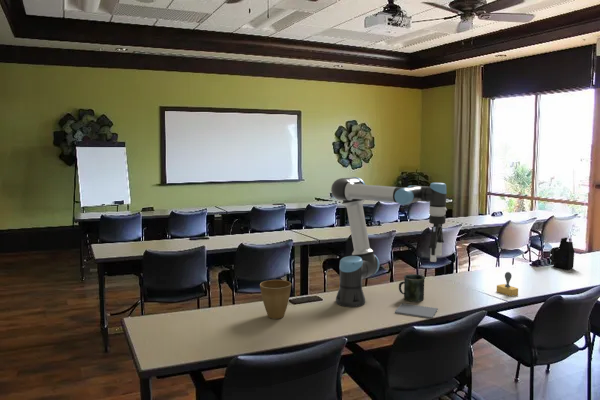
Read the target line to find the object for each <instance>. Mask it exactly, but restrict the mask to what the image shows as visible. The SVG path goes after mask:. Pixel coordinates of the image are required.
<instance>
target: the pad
mask: <svg viewBox="0 0 600 400" xmlns="http://www.w3.org/2000/svg"><path fill="white" fill-rule="evenodd" d="M437 310H438V311H439V308H438V307H432V306H431V307H430V306H423V305H418V304H417V305H416V304H410V303H403V302H402V303H400V305H399V306H398V307H397V309H395V311H394V314H398V315H403V316H411V317H416V316H418V318H423V317H426V318H425V319H430V318H431V319H430V320H433V319H432V318H434V317H435V315H436V314H437V312H438V311H437ZM435 313H436V314H435ZM433 316H434V317H433Z"/></svg>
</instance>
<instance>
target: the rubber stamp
mask: <svg viewBox="0 0 600 400" xmlns="http://www.w3.org/2000/svg"><path fill="white" fill-rule="evenodd" d="M504 278H505V282H506V284H505V283H502V284H497V285H496V292H497V293H500V294H503V293H504V294H503V295H506V294H507V295H506V296H509V295H510V296H509V297H513V296H512V295H515V296H518V295H519V288H518V287H515V286H512V285H510V282H511V279H512V273H511V272H510V271H507V272H505V273H504Z"/></svg>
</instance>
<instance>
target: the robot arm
mask: <svg viewBox="0 0 600 400" xmlns="http://www.w3.org/2000/svg"><path fill="white" fill-rule="evenodd" d="M330 188H331V189H330V191H331V194H332V196H333V197H334V198H335V200H339V201H342V204H343V205H344V206H345V207H346V213H347V217H348V223H349V224H348V225H349V229H350V234H351V241H352V246H353V251H352V253H351V255H348V256H344V257H342V258H341V259H340V260H339V267H338V268H339V284H338V285H339V287H338V290H337V293H336V297H335V303H336V304H337V305H339V306H342V307H349V308H350V307H351V308H353V307H354V308H355V307H356V308H358V307H362V306H363V305H365V304H366V297H365V294H364V290H363V279H367V278H370V277H372V276H373V275H375V274H376V273H377V272H379V269H380V260H379V258H378V257H377V255H376V254H375V253H374V252H375V251H374V250H373V249H372V248H371V247H370V241H369V236H368V230H367V229H368V228H367V224H366V218H365V217H366V216H365V211H364V207H363V206H364V205H363V203H364V202H365V201H374V202H375V201H376V202H386V203H394V204H395V203H396V204H398V205H401V206H402V205H409V204H413V203H417V202H425V203H429V208H428V209H429V211H428V212H429V215H428V216H429V217H428V219H429V220H428V222H429V223H430V224H431V225H433V226H432V227H431V231H430V232H431V233H430V243H429V246H428V248H429V249H430V252H429V253H430V254H429V255H430V257H429V262H432V263H433V262H434V263H437V256H438V257H442V255H443V252H442V250H443V243H444V242H445V241H444V237H443V232H444V231H443V225H444V224H446V219H447V217H446V215H447V214H446V212H447V211H448V208H447V207H446V206H447V194H448V193H447V184H446V183H444V182H431V183H430V185H429V186H424V185H423V186H422V185H415V184H414V185H408V186H407V187H403V186H402V187H400V186H399V187H398V186H388V185H375V184H366V183H365V181H364V180H363V179H362V178H360V177H357V176H350V177H344V178H343V177H342V178H337V179H336V180H334V181H333V183H332V185H331V187H330Z"/></svg>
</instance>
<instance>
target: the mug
mask: <svg viewBox="0 0 600 400" xmlns="http://www.w3.org/2000/svg"><path fill="white" fill-rule="evenodd" d="M403 278H404V279H403V280H404V281H400V282H399V283H398V291H399V293H400V294H401V295H403V298H404V300H406V301H409V302H421V301H423V300H424V298H425V280H426V277H425V275H422V274H421V275H420V274H416V273H415V274H413V273H411V274H410V273H409V274H405V275H404V276H403ZM402 285H403V290H402Z"/></svg>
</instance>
